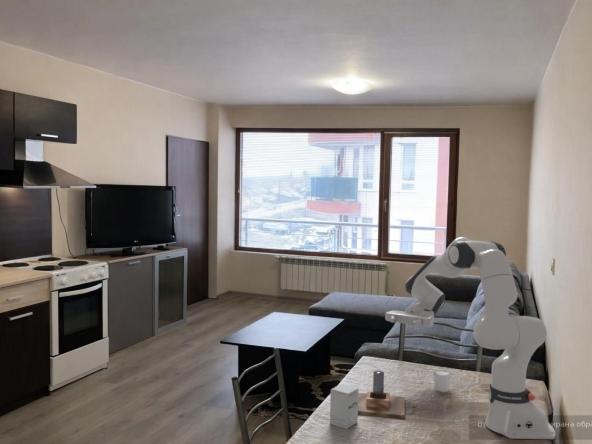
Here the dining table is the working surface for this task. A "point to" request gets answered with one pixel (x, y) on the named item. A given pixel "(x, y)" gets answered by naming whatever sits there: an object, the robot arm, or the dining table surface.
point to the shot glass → (441, 381)
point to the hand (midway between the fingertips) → (403, 322)
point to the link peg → (378, 384)
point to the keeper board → (381, 405)
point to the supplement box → (344, 406)
